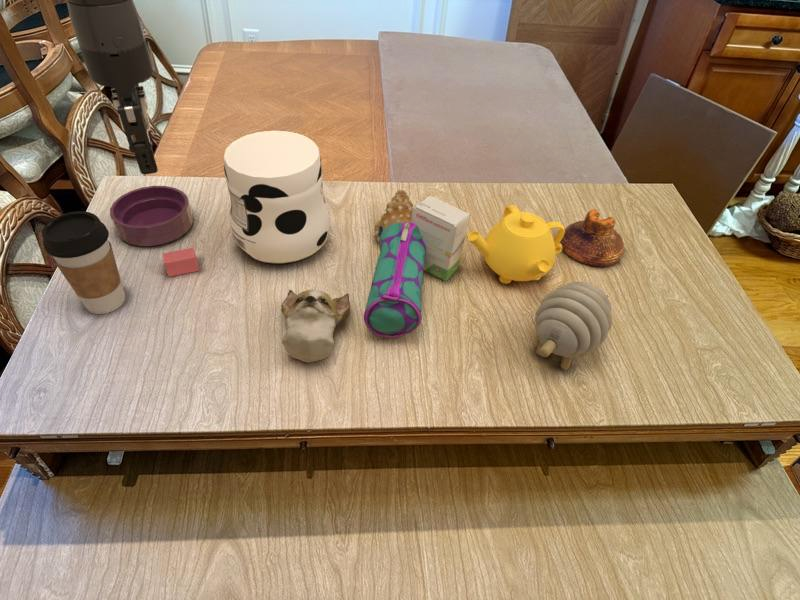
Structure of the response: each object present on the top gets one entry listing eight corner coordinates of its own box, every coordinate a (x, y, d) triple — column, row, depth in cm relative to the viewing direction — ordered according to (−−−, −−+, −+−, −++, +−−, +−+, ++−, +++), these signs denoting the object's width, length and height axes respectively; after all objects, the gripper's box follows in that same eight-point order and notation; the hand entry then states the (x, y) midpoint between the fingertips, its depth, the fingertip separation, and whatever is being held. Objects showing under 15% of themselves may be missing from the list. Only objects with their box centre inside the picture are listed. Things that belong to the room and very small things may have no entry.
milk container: (341, 221, 104) (338, 134, 91) (315, 279, 92) (308, 189, 79) (255, 208, 106) (241, 121, 93) (218, 264, 93) (196, 173, 81)
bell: (546, 236, 104) (556, 204, 99) (596, 224, 108) (608, 193, 102) (583, 274, 96) (596, 242, 91) (636, 259, 100) (650, 227, 95)
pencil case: (377, 254, 97) (379, 210, 90) (425, 260, 97) (432, 216, 90) (361, 340, 82) (362, 295, 75) (418, 347, 82) (425, 302, 75)
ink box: (405, 261, 96) (410, 206, 88) (421, 247, 99) (427, 193, 91) (445, 282, 93) (455, 227, 84) (460, 267, 96) (471, 212, 88)
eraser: (168, 277, 90) (164, 263, 88) (167, 266, 92) (162, 253, 90) (199, 270, 92) (195, 257, 90) (197, 260, 94) (193, 247, 92)
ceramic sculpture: (262, 328, 71) (283, 261, 82) (268, 372, 77) (287, 303, 88) (343, 333, 71) (352, 265, 83) (343, 376, 77) (352, 307, 88)
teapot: (459, 273, 95) (468, 222, 87) (493, 235, 103) (504, 185, 95) (535, 308, 89) (552, 256, 82) (564, 265, 98) (582, 214, 90)
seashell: (369, 237, 106) (376, 186, 103) (409, 242, 108) (416, 191, 105) (375, 246, 97) (383, 190, 95) (419, 251, 99) (428, 196, 96)
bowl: (119, 254, 94) (111, 234, 91) (116, 212, 102) (109, 192, 99) (198, 239, 98) (192, 219, 95) (189, 200, 106) (183, 180, 103)
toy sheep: (612, 331, 86) (636, 280, 79) (572, 401, 76) (596, 350, 68) (551, 303, 90) (569, 251, 83) (505, 366, 80) (521, 314, 72)
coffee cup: (77, 326, 82) (35, 248, 71) (75, 290, 87) (36, 213, 76) (136, 311, 84) (104, 235, 74) (131, 278, 90) (101, 202, 79)
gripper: (78, 21, 69) (117, 138, 81) (76, 62, 60) (121, 187, 71) (140, 17, 72) (170, 131, 83) (148, 56, 62) (180, 178, 74)
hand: (147, 157), depth 77 cm, fingers open, 8 cm apart
